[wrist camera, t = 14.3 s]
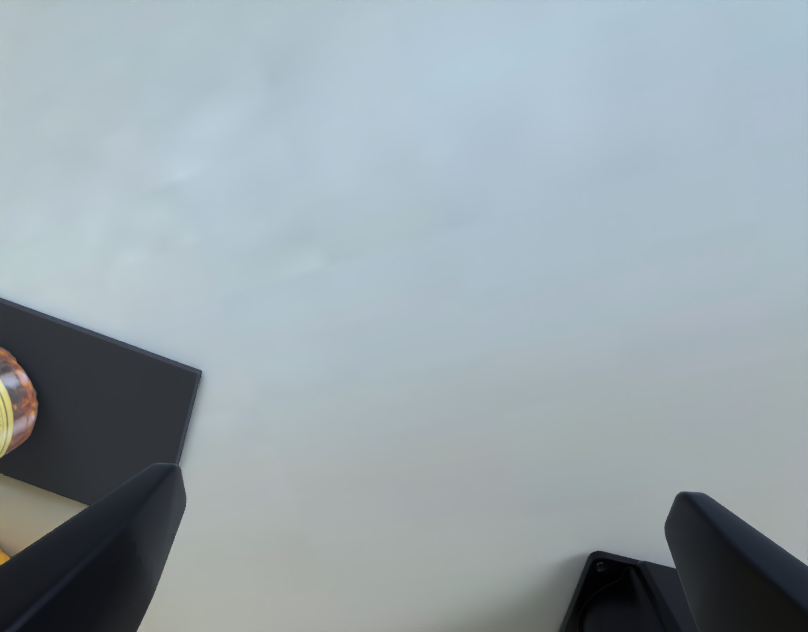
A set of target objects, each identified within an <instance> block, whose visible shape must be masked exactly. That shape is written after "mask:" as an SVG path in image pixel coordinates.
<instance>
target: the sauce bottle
mask: <svg viewBox="0 0 808 632" xmlns="http://www.w3.org/2000/svg"><path fill="white" fill-rule="evenodd" d="M36 395H37V392H36V390H35V389H34V387H33V385H32V382H31V381H30V379H29V378H28V376H27V374H26V372H25V371H24V370H23V368H22V367H21V366H20V365H19V364H17V361H16V358H15V357H14V356H12V355H11V354H10V352H9V351H7V350H6V349H4V348H2V347H0V458H1V457H2V456H3V455H5V454H8V453H9V452H10V451H12V450H13V449H15V448H16V447H18V446H19V445H21V444H22V443H23V442H24V441H25V440H26V439H28V438H29V436H30V435H31V432H32V430H33V427H34V424H35V421H36V417H37V412H38V411H37V408H38V401H37V399H36Z"/></svg>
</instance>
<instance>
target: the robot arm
mask: <svg viewBox="0 0 808 632" xmlns="http://www.w3.org/2000/svg"><path fill="white" fill-rule="evenodd" d="M185 507H186V493H185V488H184V482H183V477H182V472H181V469H180V467H179V465H177V464H174V463H154V464H152V465H150V466H149V467H147V468H146V469H144V470H143V471H141V472H140V473H138V474H137V475H135V476H134V477H132V478H131V479H129V480H128V481H126V482H125V483H123V484H122V485H120V486H119V487H117V488H116V489H114V490H113V491H111V492H110V493H108V494H107V495H105V496H104V497H102V498H101V499H99V500H98V501H96V502H95V503H93V504H91V505H90V506H88V507H87V508H85V509H84V510H82V511H81V512H79V513H78V514H76V515H75V516H73V517H72V518H70V519H69V520H67V521H66V522H64V523H63V524H61V525H60V526H58V527H57V528H55V529H54V530H52V531H51V532H49V533H48V534H46V535H45V536H43V537H42V538H40V539H39V540H37V541H36V542H34V543H33V544H31V545H30V546H28V547H27V548H25V549H24V550H22V551H21V552H19V553H18V554H16V555H15V556H13V557H12V558H10V559H9V560H7V561H6V562H4V563H3V564H1V565H0V632H137V630H138V628H139V625H140V623H141V621H142V619H143V617H144V615H145V613H146V611H147V609H148V606H149V604H150V602H151V600H152V598H153V595H154V593H155V590H156V588H157V585H158V582H159V580H160V577H161V574H162V571H163V569H164V566H165V563H166V560H167V558H168V555H169V552H170V549H171V547H172V544H173V541H174V538H175V536H176V533H177V530H178V527H179V525H180V522H181V519H182V516H183V514H184V511H185ZM665 536H666V540H667V543H668V545H669V548H670V551H671V554H672V557H673V560H674V563H675V566H676V569H675V568H671V567H667V566H663V565H659V564H655V563H651V562H647V561H639V560H635V559H631V558H627V557H623V556H619V555H615V554H611V553H607V552H603V551H596V552H593V553H591V554H590V555H589V557H588V559H587V562H586V564H585V567H584V570H583V572H582V575H581V577H580V580H579V582H578V585H577V588H576V590H575V593H574V595H573V598H572V601H571V603H570V606H569V608H568V611H567V614H566V616H565V619H564V621H563V624H562V627H561V629H560V632H808V566H807V565H805V564H804V563H802V562H801V561H800V560H798V559H797V558H795V557H794V556H793V555H791V554H790V553H788V552H787V551H786V550H784V549H783V548H781V547H780V546H779V545H777V544H776V543H774V542H773V541H771V540H770V539H769V538H767V537H766V536H764V535H763V534H762V533H760V532H759V531H757V530H756V529H755V528H753V527H752V526H750V525H749V524H748V523H746V522H745V521H743V520H742V519H740V518H739V517H738V516H736V515H735V514H733V513H732V512H731V511H729V510H728V509H726V508H725V507H724V506H722V505H721V504H719V503H718V502H716V501H715V500H714V499H712V498H711V497H709V496H708V495H706V494H704V493H700V492H680V493H679V494H677V496H676V497H675V500H674V502H673V505H672V507H671V510H670V512H669V515H668V517H667V520H666V522H665ZM599 562H603V563H602V564H600V565H598V564H597V563H599Z"/></svg>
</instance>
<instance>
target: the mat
mask: <svg viewBox="0 0 808 632" xmlns="http://www.w3.org/2000/svg"><path fill="white" fill-rule="evenodd" d="M0 347H2V348H4V349H6V350H7V351H9V352H10V354H11V355H12V356H14V357H15V358H16V361H17V364H19V365H20V366H21V367H22V368H23V370H24V371H25V372H26V374H27V376H28V378H29V379H30V381H31V382H32V385H33V387H34V389H35V390H36V392H37V395H36V399H37V401H38V408H37V411H38V412H37V417H36V421H35V424H34V427H33V430H32V432H31V435H30V436H29V438H28V439H26V440H25V441H24V442H23V443H22V444H21V445H19V446H18V447H16V448H15V449H13V450H12V451H10V452H9V453H8V454H5V455H3V456H2V457H1V458H0V473H1V474H4V475H6V476H9V477H12V478H15V479H17V480H20V481H23V482H26V483H29V484H31V485H34V486H37V487H40V488H42V489H45V490H48V491H51V492H53V493H56V494H59V495H62V496H65V497H67V498H70V499H73V500H76V501H78V502H81V503H84V504H87V505H89V506H90V505H91V504H93V503H95V502H96V501H98V500H99V499H101V498H102V497H104V496H105V495H107V494H108V493H110V492H111V491H113V490H114V489H116V488H117V487H119V486H120V485H122V484H123V483H125V482H126V481H128V480H129V479H131V478H132V477H134V476H135V475H137V474H138V473H140V472H141V471H143V470H144V469H146V468H147V467H149V466H150V465H152V464H154V463H174V464H177V465H178V464H179V460H180V456H181V452H182V448H183V444H184V440H185V436H186V432H187V428H188V424H189V420H190V416H191V412H192V408H193V404H194V400H195V396H196V392H197V388H198V384H199V380H200V377H201V373H202V371H201V370H198V369H195V368H193V367H190V366H187V365H184V364H182V363H179V362H176V361H173V360H171V359H168V358H165V357H162V356H160V355H157V354H154V353H151V352H148V351H146V350H143V349H140V348H137V347H135V346H132V345H129V344H126V343H124V342H121V341H118V340H115V339H113V338H110V337H107V336H104V335H102V334H99V333H96V332H93V331H91V330H88V329H85V328H82V327H80V326H77V325H74V324H71V323H69V322H66V321H63V320H60V319H57V318H55V317H52V316H49V315H46V314H44V313H41V312H38V311H35V310H33V309H30V308H27V307H24V306H22V305H19V304H16V303H13V302H11V301H8V300H5V299H2V298H0Z"/></svg>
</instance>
